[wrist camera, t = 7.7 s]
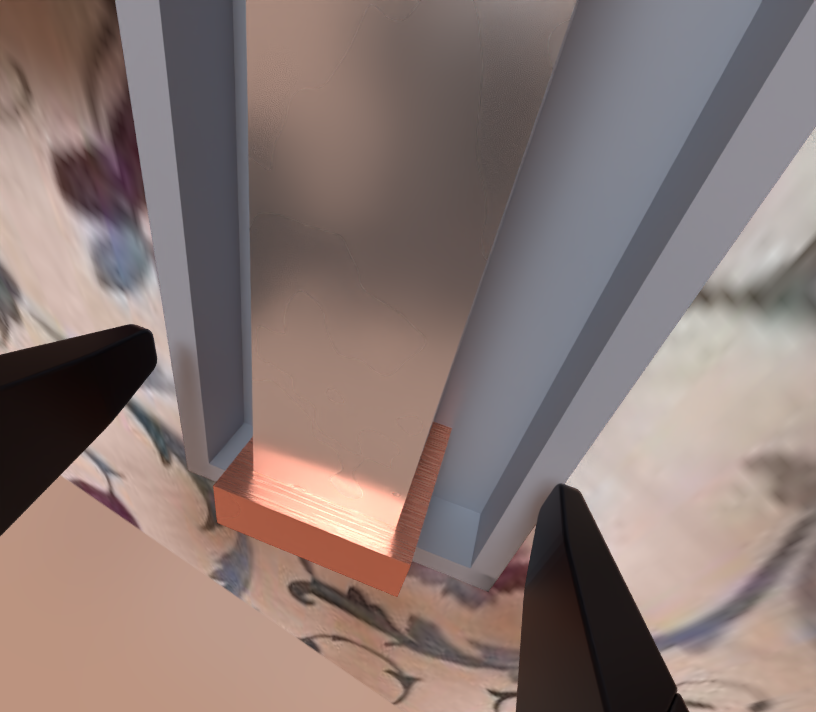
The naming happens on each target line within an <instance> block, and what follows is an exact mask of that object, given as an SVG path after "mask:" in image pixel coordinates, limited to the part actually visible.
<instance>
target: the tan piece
mask: <svg viewBox="0 0 816 712" xmlns="http://www.w3.org/2000/svg"><path fill="white" fill-rule="evenodd" d="M578 3H579V0H246V42H247V103H248V164H249V225H250V286H251V347H252V408H253V437H252V438H251V439H250V440H249V442H248V443H247V444H246V445H245V447H244V448H243V449H242V450H241V452H240V453H239V454H238V455H237V457H236V458H235V459H234V460H233V462H232V463H231V464H230V465H229V467H228V468H227V469H226V470H225V472H224V473H223V474H222V475H221V477H220V478H219V479H218V480H217V482H216V483H215V484H214V485H213V489H214V498H215V507H216V516H217V523H219V524H221V525H224V526H226V527H229V528H231V529H233V530H236V531H238V532H241V533H243V534H246V535H248V536H250V537H253V538H255V539H258V540H260V541H263V542H265V543H267V544H270V545H272V546H275V547H277V548H279V549H282V550H284V551H287V552H289V553H292V554H294V555H296V556H299V557H301V558H304V559H306V560H309V561H311V562H313V563H316V564H318V565H321V566H323V567H326V568H328V569H330V570H333V571H335V572H338V573H340V574H343V575H345V576H347V577H350V578H352V579H355V580H357V581H359V582H362V583H364V584H367V585H369V586H372V587H374V588H376V589H379V590H381V591H384V592H386V593H389V594H391V595H393V596H396V597H397V596H398V594H399V592H400V589H401V587H402V585H403V582H404V580H405V577H406V575H407V573H408V570H409V568H410V566H411V562H412V559H413V556H414V552H415V549H416V546H417V543H418V539H419V536H420V533H421V529H422V526H423V523H424V519H425V516H426V513H427V510H428V506H429V503H430V500H431V496H432V493H433V490H434V486H435V483H436V480H437V477H438V473H439V470H440V467H441V463H442V460H443V457H444V453H445V450H446V447H447V444H448V440H449V437H450V434H451V430H452V428H449V427H447V426H444V425H441V424H438V423H436V422H434V419H435V416H436V413H437V410H438V408H439V405H440V402H441V399H442V396H443V393H444V390H445V387H446V384H447V382H448V379H449V376H450V373H451V370H452V367H453V364H454V361H455V358H456V356H457V353H458V350H459V347H460V344H461V341H462V338H463V335H464V332H465V330H466V327H467V324H468V321H469V318H470V315H471V312H472V309H473V306H474V303H475V301H476V298H477V295H478V292H479V289H480V286H481V283H482V280H483V277H484V275H485V272H486V269H487V266H488V263H489V260H490V257H491V254H492V251H493V249H494V246H495V243H496V240H497V237H498V234H499V231H500V228H501V225H502V223H503V220H504V217H505V214H506V211H507V208H508V205H509V202H510V199H511V196H512V194H513V191H514V188H515V185H516V182H517V179H518V176H519V173H520V170H521V168H522V165H523V162H524V159H525V156H526V153H527V150H528V147H529V144H530V142H531V139H532V136H533V133H534V130H535V127H536V124H537V121H538V118H539V116H540V113H541V110H542V107H543V104H544V101H545V98H546V95H547V92H548V90H549V87H550V84H551V81H552V78H553V75H554V72H555V69H556V66H557V63H558V61H559V58H560V55H561V52H562V49H563V46H564V43H565V40H566V37H567V35H568V32H569V29H570V26H571V23H572V20H573V17H574V14H575V11H576V9H577V6H578Z"/></svg>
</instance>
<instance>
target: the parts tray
mask: <svg viewBox="0 0 816 712" xmlns="http://www.w3.org/2000/svg"><path fill="white" fill-rule="evenodd" d="M115 3H116V9H117V16H118V22H119V29H120V35H121V42H122V48H123V54H124V61H125V67H126V74H127V80H128V87H129V93H130V99H131V106H132V112H133V119H134V125H135V132H136V138H137V145H138V151H139V157H140V164H141V170H142V177H143V183H144V190H145V196H146V203H147V209H148V215H149V222H150V228H151V235H152V241H153V248H154V254H155V261H156V267H157V273H158V280H159V286H160V293H161V299H162V306H163V312H164V318H165V325H166V331H167V338H168V344H169V351H170V357H171V364H172V370H173V376H174V383H175V389H176V396H177V402H178V409H179V415H180V422H181V428H182V434H183V441H184V447H185V454H186V460H187V467H188V471H191V472H193V473H196V474H198V475H201V476H203V477H206V478H208V479H211V480H213V481H215V482H217V480H218V479H219V478H220V477H221V475H222V474H223V473H224V472H225V470H226V469H227V468H228V467H229V465H230V464H231V463H232V462H233V460H234V459H235V458H236V457H237V455H238V454H239V453H240V452H241V450H242V449H243V448H244V447H245V445H246V444H247V443H248V442H249V440H250V439H251V438H252V437H253V408H252V347H251V286H250V225H249V164H248V103H247V42H246V0H115ZM815 127H816V0H579V3H578V6H577V9H576V11H575V14H574V17H573V20H572V23H571V26H570V29H569V32H568V35H567V37H566V40H565V43H564V46H563V49H562V52H561V55H560V58H559V61H558V63H557V66H556V69H555V72H554V75H553V78H552V81H551V84H550V87H549V90H548V92H547V95H546V98H545V101H544V104H543V107H542V110H541V113H540V116H539V118H538V121H537V124H536V127H535V130H534V133H533V136H532V139H531V142H530V144H529V147H528V150H527V153H526V156H525V159H524V162H523V165H522V168H521V170H520V173H519V176H518V179H517V182H516V185H515V188H514V191H513V194H512V196H511V199H510V202H509V205H508V208H507V211H506V214H505V217H504V220H503V223H502V225H501V228H500V231H499V234H498V237H497V240H496V243H495V246H494V249H493V251H492V254H491V257H490V260H489V263H488V266H487V269H486V272H485V275H484V277H483V280H482V283H481V286H480V289H479V292H478V295H477V298H476V301H475V303H474V306H473V309H472V312H471V315H470V318H469V321H468V324H467V327H466V330H465V332H464V335H463V338H462V341H461V344H460V347H459V350H458V353H457V356H456V358H455V361H454V364H453V367H452V370H451V373H450V376H449V379H448V382H447V384H446V387H445V390H444V393H443V396H442V399H441V402H440V405H439V408H438V410H437V413H436V416H435V419H434V422H436V423H438V424H441V425H444V426H447V427H449V428H452V430H451V434H450V437H449V440H448V444H447V447H446V450H445V453H444V457H443V460H442V463H441V467H440V470H439V473H438V477H437V480H436V483H435V486H434V490H433V493H432V496H431V500H430V503H429V506H428V510H427V513H426V516H425V519H424V523H423V526H422V529H421V533H420V536H419V539H418V543H417V546H416V549H415V552H414V556H413V559H412V561H413V562H416V563H418V564H421V565H423V566H425V567H428V568H430V569H433V570H435V571H438V572H440V573H443V574H445V575H448V576H450V577H453V578H455V579H458V580H460V581H463V582H465V583H467V584H470V585H472V586H475V587H477V588H480V589H482V590H485V591H487V592H489V590H490V589H491V587H492V586H493V585H494V583H495V582H496V580H497V579H498V577H499V576H500V575H501V573H502V572H503V570H504V569H505V567H506V566H507V565H508V563H509V562H510V560H511V559H512V558H513V556H514V555H515V553H516V552H517V550H518V549H519V548H520V546H521V545H522V543H523V542H524V540H525V539H526V538H527V536H528V535H529V533H530V532H531V531H532V529H533V528H534V526H535V525H536V523H537V518H538V514H539V511H540V508H541V506H542V504H543V503H544V502H545V500H546V499H547V497H548V496H549V494H550V493H551V491H552V490H553V488H554V487H555V486H556V485H557V484H559V483H562V484H565V482H566V481H567V479H568V478H569V477H570V475H571V474H572V472H573V471H574V469H575V468H576V467H577V465H578V464H579V462H580V461H581V459H582V458H583V457H584V455H585V454H586V452H587V451H588V450H589V448H590V447H591V445H592V444H593V442H594V441H595V440H596V438H597V437H598V435H599V434H600V432H601V431H602V430H603V428H604V427H605V425H606V424H607V423H608V421H609V420H610V418H611V417H612V415H613V414H614V413H615V411H616V410H617V408H618V407H619V405H620V404H621V403H622V401H623V400H624V398H625V397H626V395H627V394H628V393H629V391H630V390H631V388H632V387H633V386H634V384H635V383H636V381H637V380H638V378H639V377H640V376H641V374H642V373H643V371H644V370H645V368H646V367H647V366H648V364H649V363H650V361H651V360H652V359H653V357H654V356H655V354H656V353H657V351H658V350H659V349H660V347H661V346H662V344H663V343H664V341H665V340H666V339H667V337H668V336H669V334H670V333H671V332H672V330H673V329H674V327H675V326H676V324H677V323H678V322H679V320H680V319H681V317H682V316H683V314H684V313H685V312H686V310H687V309H688V307H689V306H690V305H691V303H692V302H693V300H694V299H695V297H696V296H697V295H698V293H699V292H700V290H701V289H702V287H703V286H704V285H705V283H706V282H707V280H708V279H709V278H710V276H711V275H712V273H713V272H714V270H715V269H716V268H717V266H718V265H719V263H720V262H721V260H722V259H723V258H724V256H725V255H726V253H727V252H728V251H729V249H730V248H731V246H732V245H733V243H734V242H735V241H736V239H737V238H738V236H739V235H740V233H741V232H742V231H743V229H744V228H745V226H746V225H747V223H748V222H749V221H750V219H751V218H752V216H753V215H754V214H755V212H756V211H757V209H758V208H759V206H760V205H761V204H762V202H763V201H764V199H765V198H766V196H767V195H768V194H769V192H770V191H771V189H772V188H773V187H774V185H775V184H776V182H777V181H778V179H779V178H780V177H781V175H782V174H783V172H784V171H785V169H786V168H787V167H788V165H789V164H790V162H791V161H792V160H793V158H794V157H795V155H796V154H797V152H798V151H799V150H800V148H801V147H802V145H803V144H804V142H805V141H806V140H807V138H808V137H809V135H810V134H811V133H812V131H813V130H814V128H815Z"/></svg>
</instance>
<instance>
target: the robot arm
mask: <svg viewBox="0 0 816 712" xmlns="http://www.w3.org/2000/svg"><path fill="white" fill-rule="evenodd" d="M156 364H157V354H156V349H155V343H154V338H153V334H152V332H151V331H150V330H148V329H146V328H143V327H140V326H138V325H134V324H129V325H124V326H120V327H116V328H112V329H107V330H103V331H99V332H95V333H90V334H86V335H82V336H78V337H73V338H69V339H65V340H61V341H56V342H52V343H48V344H44V345H39V346H35V347H31V348H27V349H22V350H18V351H14V352H10V353H5V354H1V355H0V536H1V535H2V534H3V533H4V532H5V531H6V530H7V529H8V528H9V527H10V526H11V525H12V524H13V523H14V522H15V521H16V520H17V518H19V517H20V516H21V515H22V514H23V512H24V511H26V510H27V509H28V508H29V507H30V505H31V504H32V503H33V502H34V501H35V500H36V499H37V498H38V497H39V496H40V495H41V494H42V493H43V492H44V491H45V490H46V489H47V488H48V487H49V486H50V485H51V484H52V483H53V482H54V481H55V480H56V479H57V478H58V477H59V476H60V475H61V474H62V473H63V472H64V471H65V470H66V469H67V468H68V467H69V466H70V465H71V464H72V463H73V462H74V461H75V460H76V458H77V457H78V456H79V455H80V454H81V453H82V452H83V451H84V450H85V449H86V448H87V447H88V446H89V445H90V444H91V443H92V442H93V441H94V440H95V439H96V438H97V437H98V436H99V435H100V434H101V433H102V432H103V431H104V430H105V429H106V428H107V427H108V425H109V424H110V423H111V422H112V421H113V420H114V419H115V417H116V416H117V415H118V414H119V413H120V411H121V410H122V409H123V408H124V406H125V405H126V404H127V403H128V401H129V400H130V399H131V398H132V396H133V395H134V394H135V393H136V391H137V390H138V389H139V388H140V386H141V385H142V384H143V383H144V381H145V380H146V379H147V378H148V376H149V375H150V374H151V373H152V371H153V370H154V368H155V366H156ZM516 712H689V711H688V708H687V706H686V704H685V702H684V700H683V698H682V696H681V695H680V694H679V693H677V687H676V685H675V682H674V680H673V678H672V676H671V674H670V672H669V670H668V668H667V666H666V664H665V662H664V660H663V658H662V656H661V654H660V652H659V650H658V648H657V646H656V644H655V642H654V640H653V638H652V636H651V634H650V632H649V630H648V628H647V626H646V624H645V622H644V620H643V618H642V615H641V613H640V611H639V609H638V607H637V605H636V603H635V601H634V599H633V597H632V595H631V593H630V591H629V589H628V587H627V585H626V583H625V581H624V579H623V577H622V575H621V573H620V571H619V569H618V567H617V565H616V563H615V561H614V559H613V557H612V555H611V553H610V551H609V548H608V546H607V544H606V542H605V540H604V538H603V536H602V534H601V532H600V530H599V528H598V526H597V524H596V522H595V520H594V518H593V516H592V514H591V512H590V510H589V508H588V506H587V504H586V502H585V500H584V498H583V496H582V494H581V492H580V491H579V490H578V489H576V488H573V487H570V486H568V485H565V484H562V483H559V484H557V485H556V486H555V487H554V488H553V490H552V491H551V493H550V494H549V496H548V497H547V499H546V500H545V502H544V503H543V504H542V506H541V508H540V511H539V514H538V518H537V524H536V529H535V534H534V540H533V545H532V550H531V556H530V561H529V566H528V572H527V577H526V583H525V590H524V600H523V614H522V629H521V643H520V658H519V673H518V688H517V703H516Z"/></svg>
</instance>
